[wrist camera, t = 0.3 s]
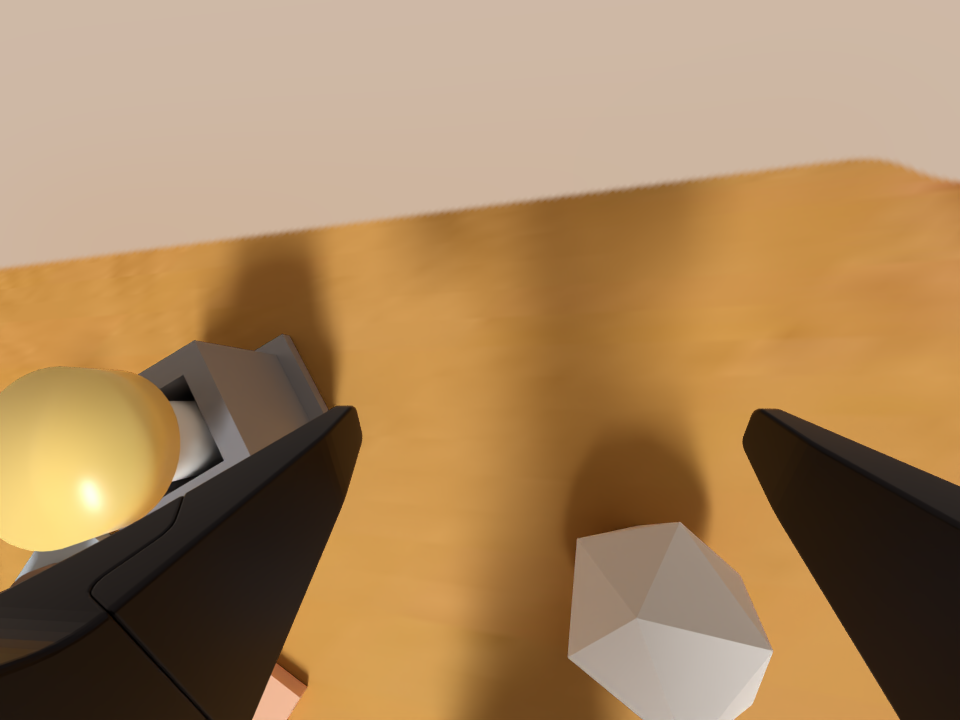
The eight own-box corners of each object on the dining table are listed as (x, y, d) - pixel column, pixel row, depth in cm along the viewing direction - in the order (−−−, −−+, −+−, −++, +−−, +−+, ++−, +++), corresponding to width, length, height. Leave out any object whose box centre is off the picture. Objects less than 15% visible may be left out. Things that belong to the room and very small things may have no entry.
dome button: (290, 456, 20) (163, 491, 12) (190, 516, 20) (5, 586, 13) (240, 356, 21) (92, 333, 13) (144, 414, 21) (-56, 423, 13)
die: (537, 515, 23) (527, 723, 15) (661, 453, 19) (743, 696, 11) (620, 579, 25) (652, 793, 17) (750, 537, 21) (876, 796, 13)
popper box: (351, 454, 23) (286, 479, 16) (232, 525, 24) (117, 579, 17) (289, 335, 25) (203, 312, 18) (175, 404, 25) (45, 407, 18)
